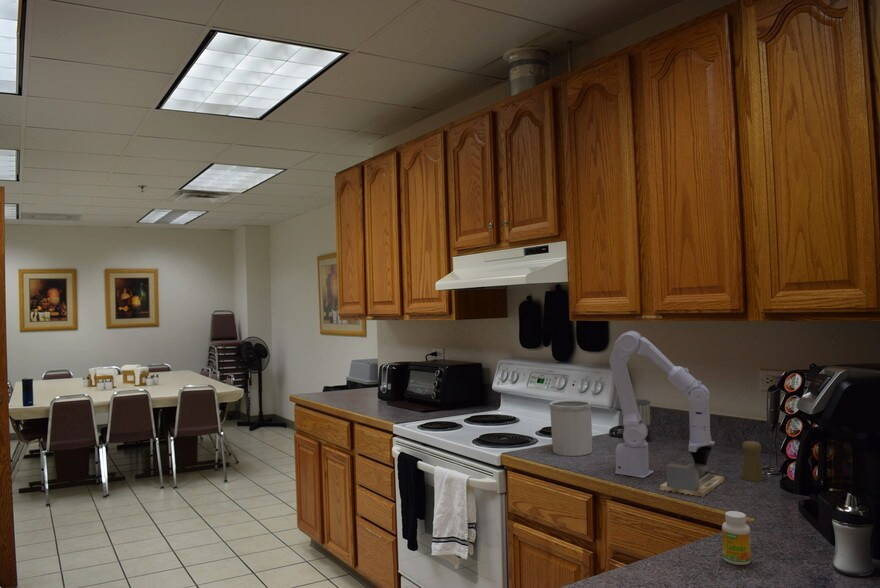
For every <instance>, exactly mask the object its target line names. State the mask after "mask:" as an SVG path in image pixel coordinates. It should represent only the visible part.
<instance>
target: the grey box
mask: <svg viewBox="0 0 880 588" xmlns="http://www.w3.org/2000/svg"><path fill="white" fill-rule="evenodd" d="M665 467H666V481H667V487H671V488H677V489H682V490H688V491H694V492H696V491H697V490H699V467H692V466H686V465H684V464H677V463H668V464H666V465H665Z"/></svg>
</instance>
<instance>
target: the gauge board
mask: <svg viewBox="0 0 880 588" xmlns="http://www.w3.org/2000/svg"><path fill="white" fill-rule="evenodd" d="M710 472H713V473H715V474H710V473H708V474H707V475H705V476H704V477H702V478H701V479H700V480H699V490H697V491H696V492H694V491H688V490H682V489H677V488H671V487H667V480H666V481H665V482H663V483H662V484H660V485H659V490H660V491H664V490H665V492H669V491H672V492H671V493H675V492H678V493H677V494H681V493H684V494H683V495H687V494H690V495H689V496H692V495H695V496H694V497H698V496H701V497H700V498H705V495H706V494H707V495H708V494H710V493H711V492H712V491H713V490H714V488H715V487H716V486H717V485H718V486H720V485H721V484H723V481H724V482H725V476H723V475H716V471H715V470H711V471H710ZM720 483H721V484H720ZM719 484H720V485H719ZM718 486H717V487H718ZM717 487H716V488H717ZM716 488H715V489H716ZM711 490H712V491H711ZM710 491H711V492H710ZM709 492H710V493H709ZM707 495H706V496H707Z"/></svg>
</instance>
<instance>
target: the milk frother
mask: <svg viewBox="0 0 880 588" xmlns="http://www.w3.org/2000/svg"><path fill="white" fill-rule="evenodd" d="M635 400H636V404H637V407H638V411H639V413H640V415H641V418H642V421H643V423H644V424H645V425H646V426H647V429H648V434H647V436H646V438H645V440H646V442H647V443H649V442H652V440H653V439H652V432H651V431H652V429H651V428H652V427H651V405H650V404H651V403H652V402H651V400H648V399H641V398H640V399H639V398H635ZM619 430H624V425H623V424H622V425H615V426H613V427H611V428H610V429H609V431H608V433H609V435H610V436H611V437H616V438H622V437H623V433H618V432H619Z"/></svg>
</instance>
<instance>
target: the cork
mask: <svg viewBox="0 0 880 588" xmlns="http://www.w3.org/2000/svg"><path fill="white" fill-rule="evenodd" d="M741 447H742V451H743V452H744V453H743V460H742V461H743V462H742V463H743V464H742V469H741V470H742V471H741V479H742V480H745V481H748V482H762V481H761V480H763V479H764V480H765V478H764V472H763V471H764V470H763V466H762V465H763V464H762V459H761V453H762V445H761V443H760V442H758V441H755V440H746V441H744V442H742V445H741ZM764 480H763V481H764Z"/></svg>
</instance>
